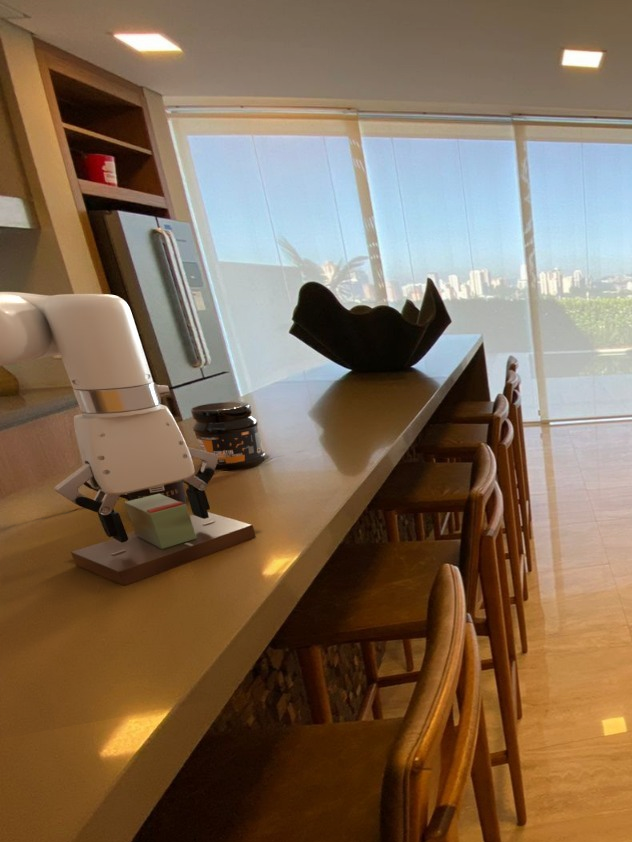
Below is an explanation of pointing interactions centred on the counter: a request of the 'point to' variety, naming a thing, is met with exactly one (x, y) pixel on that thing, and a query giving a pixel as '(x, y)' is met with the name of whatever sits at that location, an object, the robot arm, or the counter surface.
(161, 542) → the green box
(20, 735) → the counter surface
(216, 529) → the base
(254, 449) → the supplement container
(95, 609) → the counter surface
